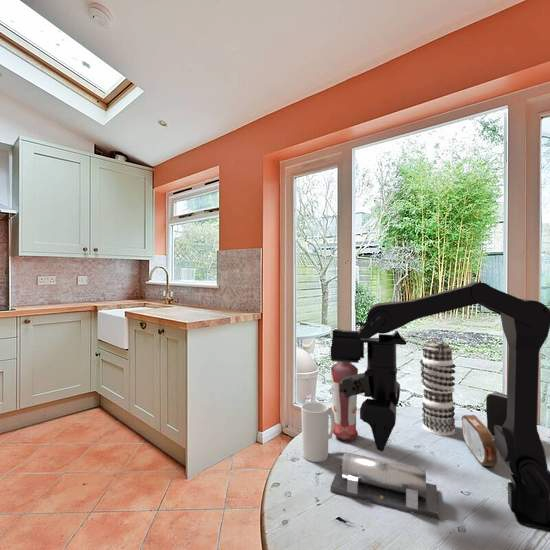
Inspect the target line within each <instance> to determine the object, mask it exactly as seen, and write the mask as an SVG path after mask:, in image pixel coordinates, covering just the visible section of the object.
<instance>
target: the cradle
mask: <svg viewBox="0 0 550 550" xmlns="http://www.w3.org/2000/svg"><path fill="white" fill-rule="evenodd" d="M330 492H331V493H335V494H338V495H342V496H347V497H351V498H354V499H358V500H361V501H366V502H369V503H373V504H378V505H381V506H385V507H389V508H393V509H396V510H400V511H404V512H409V513H412V514H416V515H419V516H424V517H427V518H432V519H435V520H440V513H439V510H440V509H439V500H438V498H439V497H438V488H437V484H432V483H429V482H426V498H423V497H419V496H418V491H415V490H411V489H406V493H402V492H398V491H394V490H389V489H385V488H381V487H377V486H373V485H368V484H364V483H360V482H359V477H355V476H350V475H349V476H348V478H347V479H343V477H342V463H339V466H338V468H337V470H336V472H335V475H334V478H333V480H332V482H331V484H330Z"/></svg>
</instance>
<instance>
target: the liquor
mask: <svg viewBox="0 0 550 550" xmlns="http://www.w3.org/2000/svg"><path fill="white" fill-rule="evenodd" d="M330 373H331V391H332V406H333V408H332V411H333V413H334V419H335V422H334V429H333V434H334V436H336V438H337V439H339V440H341V439H342V440H341V441H346V440H347V441H352V440H353V439H355V438H356V437H357V436H358V430H357V402H358V401H357V399H358V394H357V395H353V396H350V397H348V398H345V397H344V395H343V393H341V392H340V381H341V380H342V379H343V378H345V377H348V376H352V375H356V374H359V369H358V367H357V366H355V364H352V363H351V362H337V363H335V364H333V365H332V366H331V367H330Z"/></svg>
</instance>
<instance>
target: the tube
mask: <svg viewBox="0 0 550 550" xmlns="http://www.w3.org/2000/svg"><path fill="white" fill-rule="evenodd" d="M341 464H342V477H343V479H347V478H348V476H349V475H350V476H355V477H359V482H360V483H364V484H368V485H373V486H377V487H381V488H385V489H389V490H394V491H398V492H402V493H406V489H411V490H415V491H418V496H419V497H423V498H426V483H427V471H426V468H424V467H418V466H413V465H409V464H404V463H401V462H400V463H399V462H396V461H388V460H384V459H380V458H374V457H370V456H365V455H360V454H356V453H351V452H344V453H343V457H342V463H341Z"/></svg>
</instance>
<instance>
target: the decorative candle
mask: <svg viewBox="0 0 550 550" xmlns="http://www.w3.org/2000/svg"><path fill="white" fill-rule="evenodd" d="M421 347H422V350H423V351H422V352H423V353H422V355H423V356H422V359H420V362H419V364H420V365H421V366H420V371H421V373H420V375H421V388H422V389H423V396H422V397H423V399H422V403H421V405H422V408H421V410H422V412H423V413H422V414H421V416H422V419H421V421H422V428H423V429H424V431H426V432H428V433H430V434H433V435H437V436H445V437H446V436H447V437H448V436H453V435H454V434H455V433H456V429H455V428H456V424H455V421H456V419H455V414H456V413H455V409H456V407H455V405H454V399H453V393H454V392H455V388H454V386H456V382H454V381H455V380H456V377H455V376H453V375H454V374H455V373H456V370H455V369H454V368H456V365H455V364H454V363H453V362H454V361H453V347H451V346H450V345H449V343H447V342H446V341H445V342H444V341H440V340H429V341H426V342H425V344H424V345H422V346H421Z"/></svg>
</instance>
